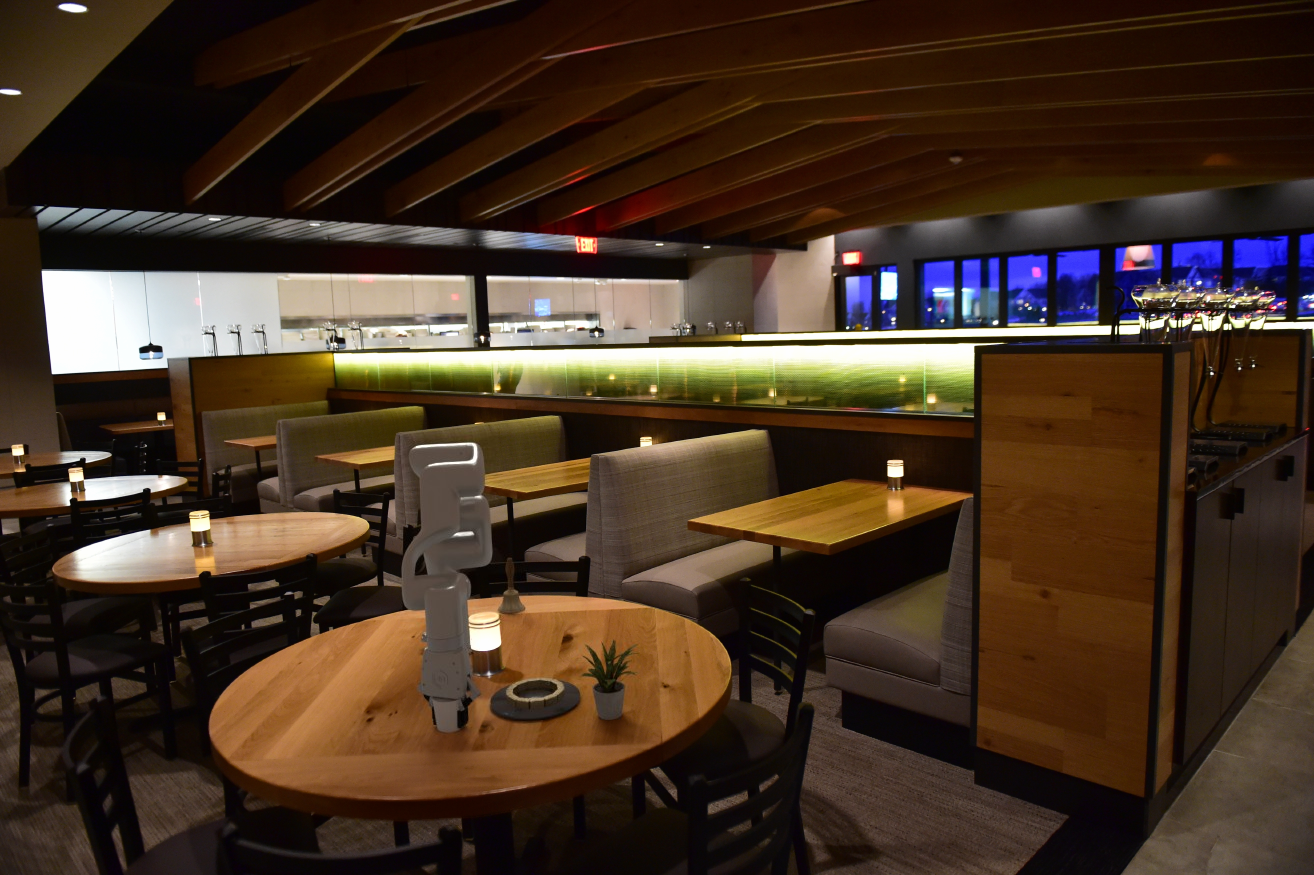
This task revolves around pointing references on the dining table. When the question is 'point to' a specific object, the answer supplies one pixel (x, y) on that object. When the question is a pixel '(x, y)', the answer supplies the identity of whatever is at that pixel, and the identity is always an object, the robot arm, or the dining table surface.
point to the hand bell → (510, 593)
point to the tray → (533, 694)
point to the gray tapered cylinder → (446, 713)
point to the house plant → (609, 682)
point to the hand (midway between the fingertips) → (450, 723)
